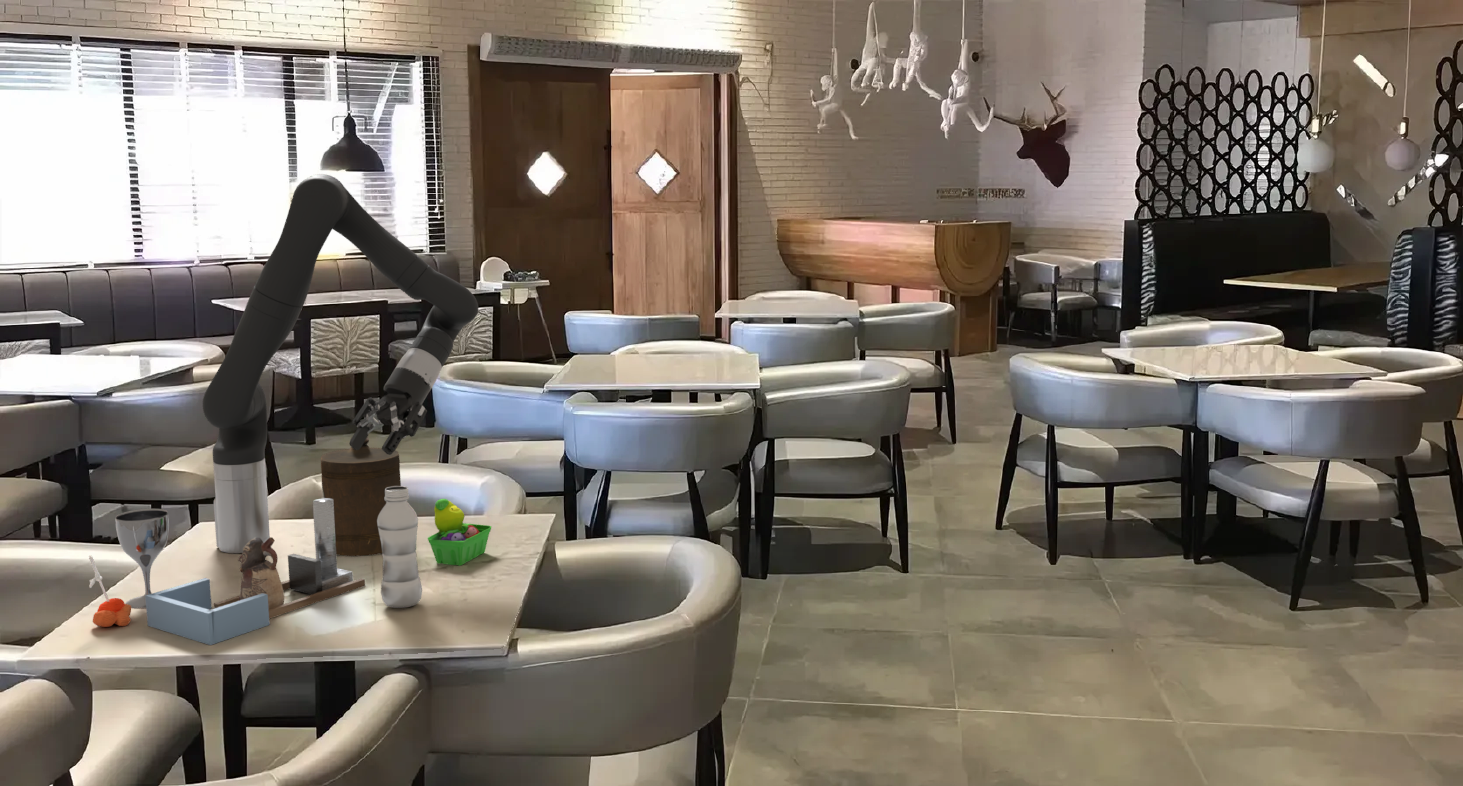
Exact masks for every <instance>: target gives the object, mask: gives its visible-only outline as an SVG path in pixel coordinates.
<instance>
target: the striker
mask: <svg viewBox="0 0 1463 786" xmlns="http://www.w3.org/2000/svg"><path fill="white" fill-rule="evenodd" d="M312 514H313V530H314V532H313V533H314V546H315V558H314V557H311V556H305V555H300V554H297V553H292V554H288V555H287V564H288V565H287V566H288V580H289V584H290V589H289V590H292V591H297V592H300V593H305V594H308V595H312V594H315V593H318V592H321V591H324V590H327V589H330V588H334V587H337V586H340V585H343V584H346V583H349V582H352V581H354V575H353V571H351V570H347V569H343V568H338V560H337V559H338V557H337V556H338V555H336V538H335V520H334V502H333V499H330V498H322V497H321V498H318V499H317V498H316V499H314V500H313V501H312Z"/></svg>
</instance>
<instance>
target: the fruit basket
mask: <svg viewBox="0 0 1463 786" xmlns="http://www.w3.org/2000/svg"><path fill="white" fill-rule="evenodd" d="M434 504H435V505H434V509H433V510H434V524H435V527H436V529H437V530H438V531H437V532H436V533H433V534H431V535H429V536H428V537H427V541H428V543H429V545H430V547H431V551H432V553H433V556H434V558H435V563H436V564H437V565H439V564H443V565H449V566H450V565H451V566H459V567H460V566H461V567H462V566H463V565H464V564H466V563H468V562H470V561H472V560H473V559H475V558H478V557H479V556H480V555H483V554H485V552H486V549H487V548H486V547H487V544H488V539H489V535H490V532H491V530H492V526H491V525H487V524H486V525H485V524H477V523H466V522H464V519H465V514H464V513H465V512H463V510H462V509H461V508H459V506H457V505H456V504H454V503H453V502H452V501H450V500H449V499H447V498H440V499H438V500H436V501H435V503H434Z"/></svg>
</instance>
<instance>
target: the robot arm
mask: <svg viewBox="0 0 1463 786" xmlns="http://www.w3.org/2000/svg"><path fill="white" fill-rule="evenodd" d="M283 225H284V226H283V228H282V231H281V234H280V237H279V238H278V241H277V243H276V245H275V247H274V248H273V251H272V252H271V253H270V256H269V257H268V259H267V261H266V263H265V264H264V266H263V268H262V270H261V272H260V274H259V276H258V278H257V280H256V282H255V284H254V286H253V289H252V290H251V292H250V295H249V298H248V301H247V303H246V305H245V308H244V311H243V313H242V316H241V318H240V320H239V323H238V325H237V328H236V330H235V332H234V334H233V339H232V341H231V343H230V346H229V349H228V350H227V353H226V355H225V357H224V359H223V361H222V362H221V364H220V366H219V367H218V370H217V371H216V373H215V374H214V376H213V378H212V379H211V381H210V383H209V385H208V387H207V388H206V390H205V393H204V395H203V399H202V410H203V414H204V417H205V419H206V420H207V422H209V423H210V425H212V426H213V427H215V428H218V429H219V431H218V436H217V440H216V442H215V443H214V446H213V448H212V463H213V464H212V465H213V476H214V477H213V478H214V479H213V480H214V491H215V493H214V494H215V498H214V500H213V511H214V512H213V513H214V525H215V526H214V527H215V539H216V540H215V541H216V542H215V543H216V548H219V549H218V550H220V551H221V552H223V553H226V554H228V553H229V554H242V553H243V548H244V547H245V545H246V544H247V543H248V542H249V541H250V540H252V539H254V538H256V537H259V538H261V539H262V541H263V543H265V542H266V541H267V540H268V539H269V538H270V537H271V536H270V535H271V534H270V519H269V517H270V516H269V501H268V499H269V498H268V487H267V472H266V458H265V456H266V455H265V453H266V452H265V449H266V445H267V442H268V414H267V413H268V411H267V399H266V395H265V391H264V388H263V387H262V386H261V384H260V383H259V382H260V380H261V378H262V375H263V374H264V370H265V369H266V367H267V366H268V363H269V362H270V361H271V359H272V358H273V357H274V355H275V354H276V353H277V351H279V350H280V347H282V345H284V342H285V341H286V340H287V338H288V336H289V335H290V334H291V332H292V330H293V328H294V326H295V324H296V323H297V321H298V319H299V316H300V314H301V311H302V309H303V308H304V305H305V303H306V300H307V297H308V294H309V291H310V287H311V284H312V280H313V275H314V272H315V271H314V270H315V266H316V263H317V260H318V258H319V255H320V253H321V250H322V249H323V246H324V245H325V243H326V241H327V239H328V238H329V235H330V233H331V232H332V231H334V232H336V233H338V234H339V235H340V236H342V237H344V238H345V239H346V240H347V241H349V242H350V243H351V244H352V245H354V246H355V247H356V248H357V249H358V250H359V251H360V252H361V253H362V255H364V256H365V258H367V259H368V261H370V262H371V263H372V265H373V266H374V267H375V268H376V269H377V270H378V271H379V272H380V273H381V274H382V275H383V276H384V277H385V278H386V279H387V280H389V281H390V282H391V283H392V284H394V286H396V287H397V288H398V289H399V290H400V291H402V292H403V293H404V294H405V295H407V296H408V297H409V298H411V299H413V300H415V301H420V300H421V301H422V300H423V301H426V302H428V303H430V304H432V305H433V306H432V308H431V309H430V311H429V313H428V314H427V316H426V318H425V321H424V323H423V325H422V327H421V330H420V331H419V333H418V334H417V336H416V337H415V339H414V340H413V341H412V344H411V345H410V346H409V348H408V350H407V351H406V352H405V353H404V355H403V356H402V357H401V358H400V360H399V361H398V363H397V365H396V367H395V368H394V369H393V371H392V373H391V375H390V376H389V378H388V379H387V381H386V383H385V384H384V386H383V396H382V397H381V398H380V399H379V400H375V399H374V398H372V396H371V397H368V398H367V399H366V400H365V402H364V403H363V405H362V406H361V408H360V409H359V411H358V412H357V413H356V415H355V417H354V418H353V420H352V424H354V426H356V427H357V429H356V431H354V433H353V435H352V436H351V438H350V441H349V446H350V448H351V447H352V448H353V449H354V450H359V449H360V448H361V446H362V445H363V443H364V441H365V440H366V438H367V437H368V438H369V434H370V433H371V432H373V431H374V430H375V429H380V428H382V427H383V426H392V427H393V429H392V430H393V431H390V433H389V435H388V436H387V438H386V440H385V442H384V443H383V445H382V447H381V448H382V450H383V451H384V452H385V453H386V454H388V455H391V454H392V453H393V452H394V451H395V450H396V449H397V448H398V446H399V445H400V443H401V441H402V440H403V439H406V437H407V436H409V437H411V438H412V437H414V436H415V435H416V433H417V432H418V430H419V428H420V426H421V425H422V422H423V421H424V418H425V417H426V414H427V413H428V410H427V409H426V408H425V406H424V405H423V403H424V401H425V400H426V398H427V396H428V395H429V393H430V391H431V390H432V388H433V387H434V385H435V383H436V381H437V379H438V377H439V375H440V373H441V371H442V368H443V367H444V365H445V364H446V362H447V360H448V358H449V357H450V355H451V354H452V351H453V349H454V341H455V340H456V338H457V337H458V335H459V334H460V332H461V330H462V329H463V328H464V327H466V326H467V325H468V324H470V323H471V322H472V321H473V320H475V318H476V317H477V315H478V312H479V303H478V300H477V299H476V297H475V295H474V294H473V292H471V290H469V288H467V287H466V286H465V285H463V284H461V283H460V282H458V281H456V280H454V279H453V278H451V277H449V276H447V275H445V274H444V273H440V272H439V271H437V270H436V269H434V268H433V267H432V266H431V265H429V264H428V263H427V262H426V261H425V260H424V259H422V257H420V256H419V255H418V254H417V253H415V251H413V250H412V249H410V247H408V246H406V245H405V244H404V243H402V241H401V240H399V239H398V238H397V237H395V236H394V235H392V234H391V232H389V230H387V229H386V228H384V227H383V226H382V225H381V224H380V223H379V222H378V221H377V220H375V218H373V217H372V215H370V214H369V213H368V211H366V210H365V209H364V207H362V205H361V204H360V203H359V202H358V201H357V200H356V198H354V196H353V195H352V194H351V192H349V191H348V189H347V188H346V187H345V185H344V184H343V183H342V182H341V181H340V180H339V179H338V178H336V177H335V176H332V175H331V174H327V173H326V174H324V173H319V174H313V175H311V176H309V177H307V178H305V179H303V180H301V182H300V183H299V184H298V185H297V186H296V188H295V190H294V192H293V195H292V198H291V203H290V205H289V209H288V212H287V216H286V218H285V223H284V224H283ZM375 416H376V418H377V419H376V418H375ZM363 417H364V418H363ZM362 418H363V419H362ZM369 423H371V424H369ZM411 425H412V426H411ZM396 451H397V450H396Z"/></svg>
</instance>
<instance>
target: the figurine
mask: <svg viewBox="0 0 1463 786" xmlns="http://www.w3.org/2000/svg"><path fill="white" fill-rule="evenodd" d="M274 543H275V538H273V537H272V536H270V538H269V539H268V540H267V541H266V542H265V543H263V541H262V539H261V538H259V537H256V538H254V539H252V540H250V541H249V542H248V543H247V544H246V545H245V547H244V548H243V553H241V555H240V556H239V557H238V559H237V561H238V562H239V563H240V568H239V572H240V573H241V574H242V576H241V579H240V591H239V595H240V596H239V595H238V596H239V601H240V600H243V599H246V598H249V597H252V596H256V595H259V594H262V593H264V594H267V595H268V609H270V608H273V607H276V606H279V605H282V604H285V593H284V591H283V588H282V584H281V582H282V581H281V578H280V575H279V574H280V573H279V571H278V569H277V565H278V564H277V563H278V558H279V557H278V554H277V552H276V550H275V549H274V548H272V546H273V544H274ZM267 557H270V558H271V559H272V562H271V561H269V560H267Z"/></svg>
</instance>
